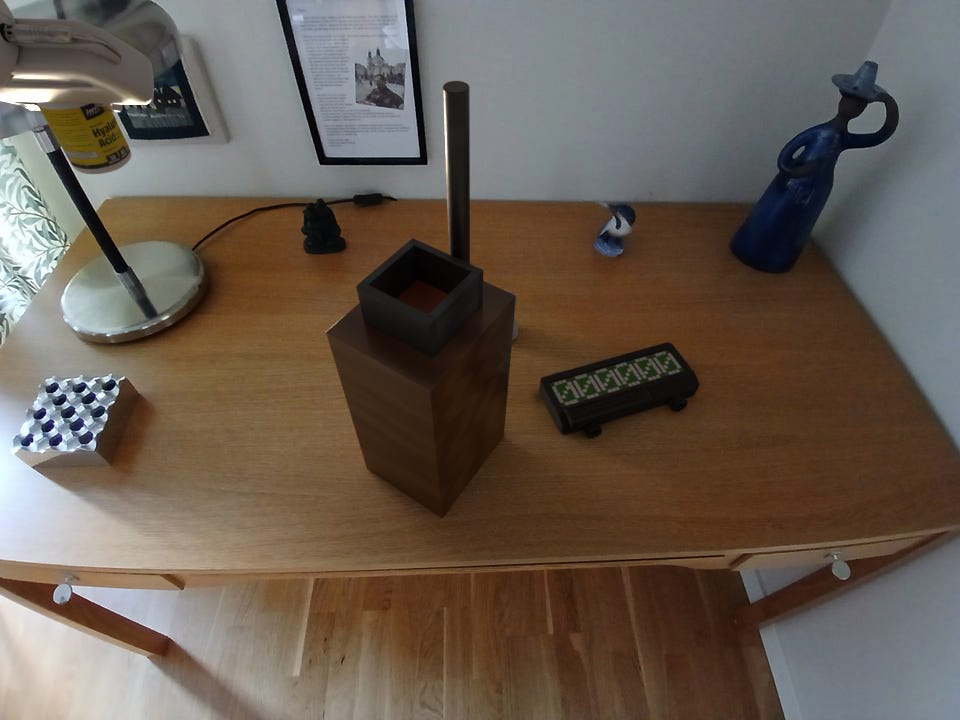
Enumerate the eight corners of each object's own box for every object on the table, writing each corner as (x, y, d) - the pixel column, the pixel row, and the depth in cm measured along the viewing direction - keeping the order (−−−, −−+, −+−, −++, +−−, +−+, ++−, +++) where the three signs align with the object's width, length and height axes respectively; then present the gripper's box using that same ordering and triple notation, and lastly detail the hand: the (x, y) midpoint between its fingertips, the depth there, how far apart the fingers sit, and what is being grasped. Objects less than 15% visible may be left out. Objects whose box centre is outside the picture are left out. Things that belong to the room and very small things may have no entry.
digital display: (569, 433, 71) (538, 376, 77) (566, 446, 74) (536, 390, 80) (710, 389, 76) (670, 339, 82) (703, 403, 78) (665, 353, 84)
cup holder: (442, 518, 67) (411, 197, 32) (366, 468, 71) (266, 136, 36) (504, 435, 75) (532, 103, 40) (432, 395, 79) (401, 61, 44)
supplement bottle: (120, 177, 54) (65, 72, 46) (64, 175, 54) (-1, 70, 46) (142, 148, 57) (94, 46, 50) (89, 146, 57) (33, 44, 50)
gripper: (87, -17, 38) (189, 69, 52) (-221, -26, 37) (-36, 64, 51) (92, 79, 38) (191, 139, 52) (-212, 72, 38) (-31, 135, 52)
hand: (77, 102), depth 52 cm, fingers closed on supplement bottle, 5 cm apart
